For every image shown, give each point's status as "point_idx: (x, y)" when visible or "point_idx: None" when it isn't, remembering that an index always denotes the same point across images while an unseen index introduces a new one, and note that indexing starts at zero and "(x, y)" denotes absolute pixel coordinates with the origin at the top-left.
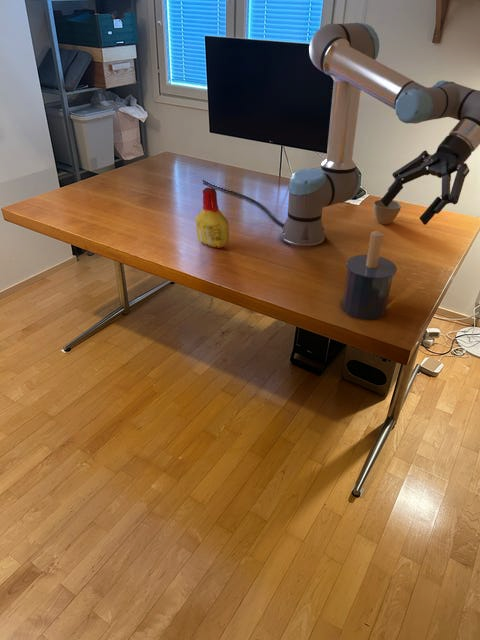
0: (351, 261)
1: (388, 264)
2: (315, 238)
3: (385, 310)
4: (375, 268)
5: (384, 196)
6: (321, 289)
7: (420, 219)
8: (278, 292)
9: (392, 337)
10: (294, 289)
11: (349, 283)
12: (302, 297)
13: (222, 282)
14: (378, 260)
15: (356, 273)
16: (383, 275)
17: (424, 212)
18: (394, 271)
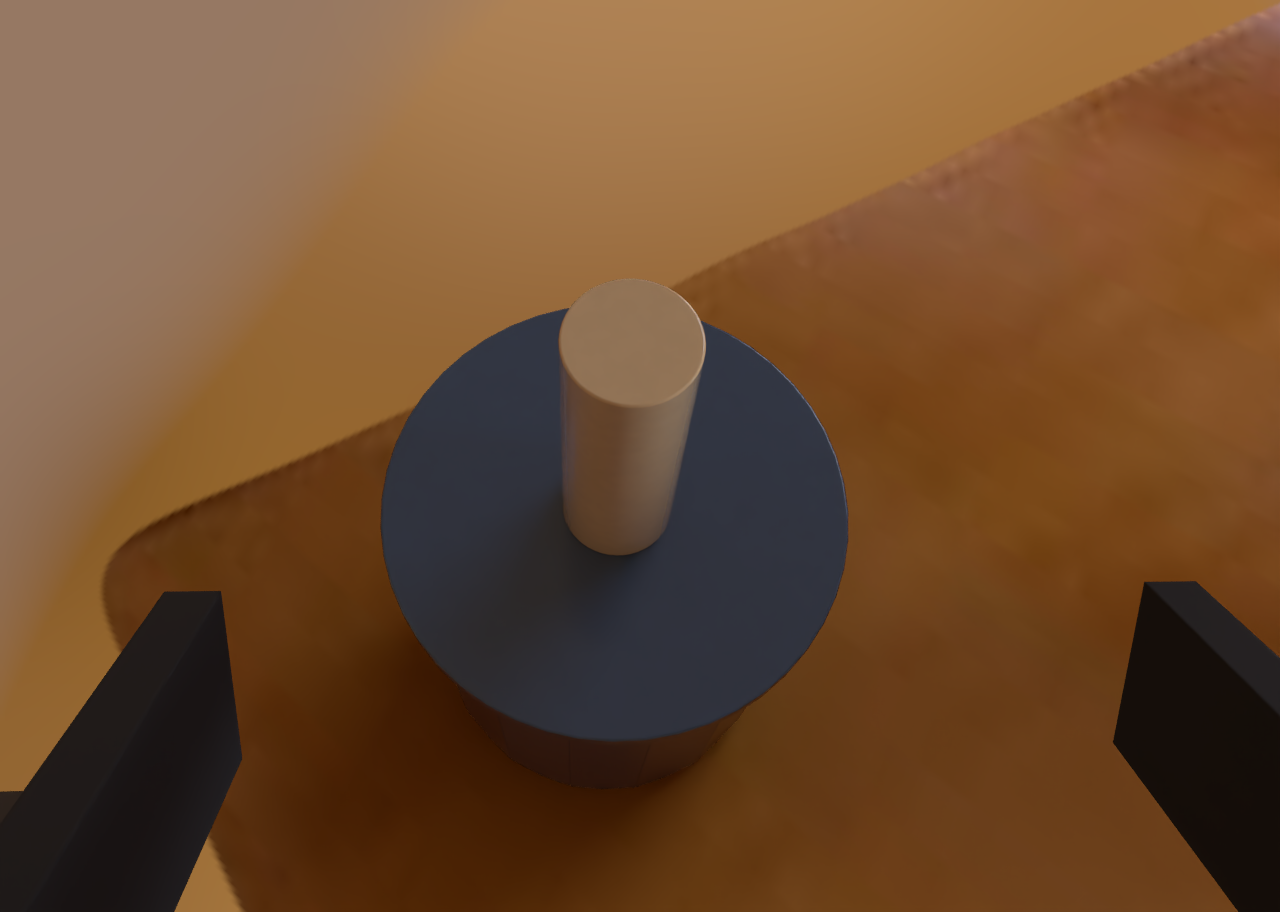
0: (762, 400)
1: (560, 664)
2: None
3: (466, 708)
4: (555, 500)
5: (1229, 627)
6: (945, 523)
7: (223, 634)
8: (1004, 267)
9: (233, 569)
10: (1006, 368)
11: None
12: (894, 358)
13: (1218, 67)
14: (574, 512)
15: (562, 310)
16: (414, 475)
17: (171, 656)
18: (419, 615)
